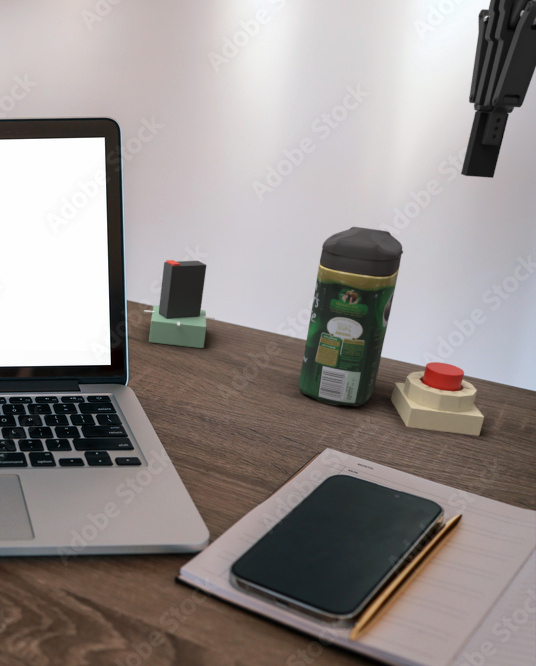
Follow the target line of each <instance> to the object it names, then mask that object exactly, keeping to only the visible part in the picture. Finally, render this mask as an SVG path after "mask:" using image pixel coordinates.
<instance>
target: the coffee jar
mask: <svg viewBox="0 0 536 666" xmlns="http://www.w3.org/2000/svg"><path fill="white" fill-rule="evenodd" d="M321 247H322V249H321V254H320V257H319V258H320V259H319V262H318V268H317V275H316V282H315V287H314V295H313V300H312V305H311V311H310V318H309V323H308V324H309V325H308V328H307V334H306V335H307V336H306V341H305V347H304V353H303V358H302V362H301V368H300V372H299V379H298V389H299V391H300V392H301V393H302V394H304V395H307V396H308V397H310V398H312V399H314V400H316V401H318V402H319V403H320V402H321V403H324V404H327V405H332V406H336V407H337V406H350V407H361V406H362V405H364V404H366V403H367V402H368V401H369V399H371V397H372V395H373V393H374V391H375V389H376V388H375V387H376V383H377V379H378V375H379V374H378V373H379V368H380V362H381V358H382V353H383V347H384V343H385V338H386V333H387V330H388V324H389V319H390V314H391V310H392V305H393V300H394V296H395V291H396V286H397V282H398V281H397V280H398V276H399V271H400V266H401V259H402V255H403V254H404V250H403V245H402V243H401V242H400V241H399V240H398V239H397V238H396V237H394V236H393V235H392V234H391V233H390V231H388V230H387V231H386V230H383V229H382V230H381V229H375V228H368V227H359V226H352V227H350V228H348V229H346V230H342V231H339V232H336V233H334V234H332V235H331V236H328V238H326V239H325V240H324V242H323V244H322V246H321Z"/></svg>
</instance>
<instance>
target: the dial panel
mask: <svg viewBox="0 0 536 666" xmlns="http://www.w3.org/2000/svg"><path fill="white" fill-rule="evenodd" d="M143 312H144V313H150V314H151V317H150V318H151V319H150V327H149V335H148V336H149V337H148V343H152V344H162V345H169V346H179V347H187V348H196V349H204V348H205V341H206V333H207V320H215V319H216V317H215V316H213V317H212V316H207V311H206V310H205V309H201V311H200V316H197V317H182V318H165V317H163V316H162V315H160V314H159V305H157V304H153V306H152V310H150V309H149V310H147V309H144V310H143Z"/></svg>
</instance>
